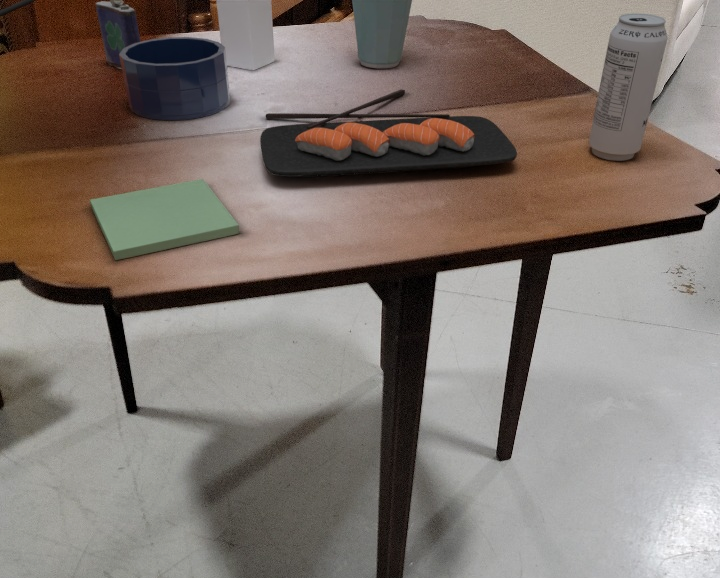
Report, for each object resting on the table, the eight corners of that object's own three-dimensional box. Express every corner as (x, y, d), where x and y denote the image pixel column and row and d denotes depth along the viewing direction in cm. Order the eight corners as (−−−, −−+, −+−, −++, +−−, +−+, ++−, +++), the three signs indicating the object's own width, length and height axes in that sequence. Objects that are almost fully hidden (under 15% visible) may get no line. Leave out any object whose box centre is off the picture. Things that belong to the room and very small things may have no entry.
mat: (91, 208, 76) (89, 199, 75) (204, 186, 80) (203, 178, 79) (115, 260, 67) (113, 251, 67) (240, 233, 71) (239, 224, 71)
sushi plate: (266, 191, 79) (263, 157, 77) (254, 100, 102) (251, 72, 100) (523, 174, 83) (528, 142, 80) (455, 90, 106) (457, 63, 104)
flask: (103, 63, 116) (89, -11, 110) (120, 59, 118) (106, -14, 111) (135, 75, 111) (122, -1, 105) (152, 71, 113) (140, -4, 106)
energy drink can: (648, 160, 86) (682, 24, 77) (600, 164, 85) (630, 26, 76) (623, 141, 91) (653, 11, 82) (578, 145, 90) (603, 13, 81)
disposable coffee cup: (333, 64, 116) (331, -42, 107) (376, 50, 123) (378, -51, 114) (385, 77, 111) (388, -33, 102) (427, 62, 118) (433, -43, 108)
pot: (120, 95, 104) (110, 43, 100) (213, 82, 109) (207, 32, 104) (142, 126, 94) (132, 70, 90) (243, 111, 99) (238, 57, 95)
